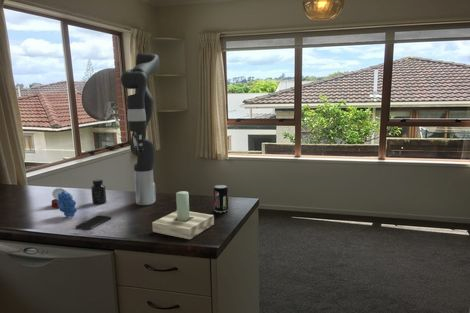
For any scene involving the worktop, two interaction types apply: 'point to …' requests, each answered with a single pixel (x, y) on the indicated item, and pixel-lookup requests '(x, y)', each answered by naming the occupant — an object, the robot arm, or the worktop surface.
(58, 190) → the canned food
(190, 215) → the socket block
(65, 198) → the grapes
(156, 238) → the worktop surface
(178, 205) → the peg
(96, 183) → the supplement bottle
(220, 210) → the beverage can
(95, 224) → the phone
